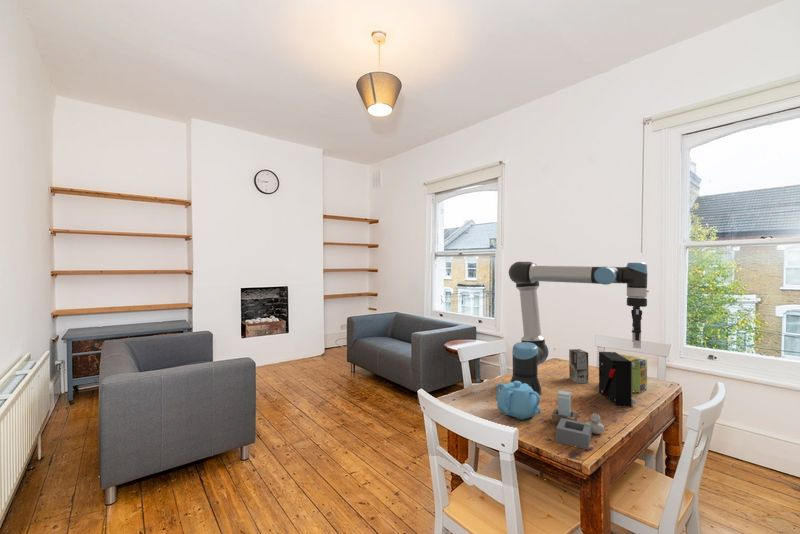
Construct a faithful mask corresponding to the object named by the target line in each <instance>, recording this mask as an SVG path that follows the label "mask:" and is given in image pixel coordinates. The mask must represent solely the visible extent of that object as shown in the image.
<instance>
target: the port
mask: <svg viewBox="0 0 800 534" xmlns="http://www.w3.org/2000/svg"><path fill="white" fill-rule="evenodd" d="M555 430H556V432H555V433H556V435H555V437H556V439H555V440H556V443H559V444H563V445H568V446H571V447H574V446H576V447H575V448H578V447H580V448H579V449H582V448H584V449H583V450H586V449H590V446H589V445H591V441H592V432H591V424H589V423H588V422H583V421H578V420H577V421H574V420H569V419H565V418H561V419H560V421H559V423H558V425H557V426H556V429H555Z"/></svg>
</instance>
